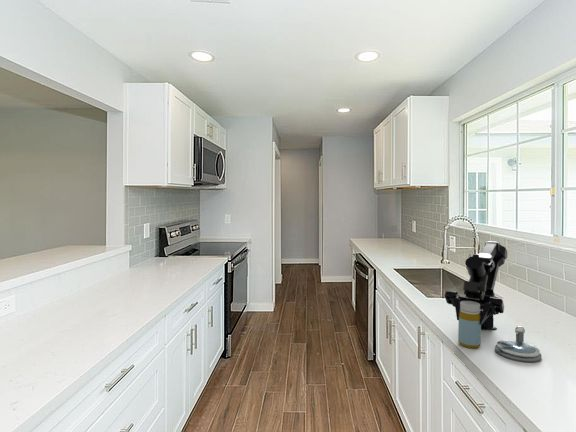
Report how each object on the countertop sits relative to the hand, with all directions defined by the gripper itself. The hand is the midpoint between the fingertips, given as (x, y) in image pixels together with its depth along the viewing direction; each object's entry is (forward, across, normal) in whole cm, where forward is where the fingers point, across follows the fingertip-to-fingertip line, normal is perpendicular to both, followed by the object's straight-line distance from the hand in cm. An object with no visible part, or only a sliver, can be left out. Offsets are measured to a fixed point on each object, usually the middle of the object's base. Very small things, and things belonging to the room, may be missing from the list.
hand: (468, 321), depth 126 cm
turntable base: (+4, +14, +9) cm, 17 cm away
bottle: (+5, 0, +7) cm, 9 cm away
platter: (+3, +14, +8) cm, 16 cm away
